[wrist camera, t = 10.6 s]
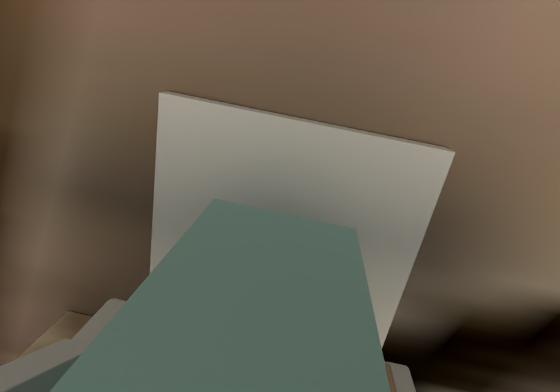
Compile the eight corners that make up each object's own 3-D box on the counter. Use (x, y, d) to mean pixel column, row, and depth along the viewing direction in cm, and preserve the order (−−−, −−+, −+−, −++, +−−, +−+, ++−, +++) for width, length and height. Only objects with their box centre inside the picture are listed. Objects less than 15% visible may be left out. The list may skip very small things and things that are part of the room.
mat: (448, 147, 13) (455, 152, 12) (368, 363, 17) (370, 376, 16) (168, 91, 13) (159, 92, 13) (154, 313, 17) (147, 324, 17)
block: (356, 228, 12) (442, 637, 3) (323, 341, 13) (324, 791, 5) (214, 198, 12) (-48, 505, 3) (200, 312, 14) (5, 697, 5)
